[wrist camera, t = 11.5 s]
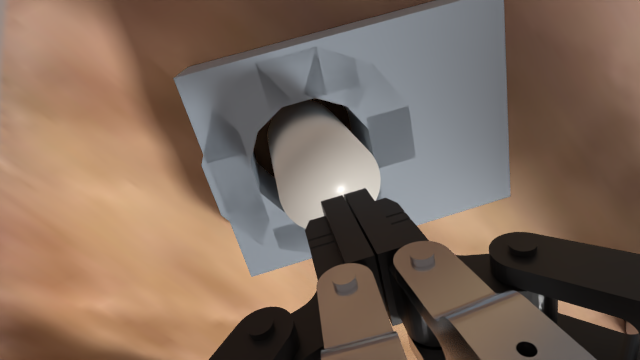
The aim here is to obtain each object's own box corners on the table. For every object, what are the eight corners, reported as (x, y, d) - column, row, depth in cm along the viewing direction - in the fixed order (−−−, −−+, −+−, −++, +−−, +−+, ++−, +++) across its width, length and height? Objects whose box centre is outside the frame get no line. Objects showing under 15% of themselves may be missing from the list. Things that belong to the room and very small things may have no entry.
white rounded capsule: (330, 90, 20) (370, 123, 14) (346, 158, 22) (388, 215, 16) (257, 112, 20) (264, 155, 14) (279, 179, 22) (294, 245, 15)
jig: (455, -5, 20) (503, -12, 16) (469, 169, 24) (510, 196, 20) (182, 68, 19) (167, 80, 15) (246, 237, 23) (246, 278, 19)
